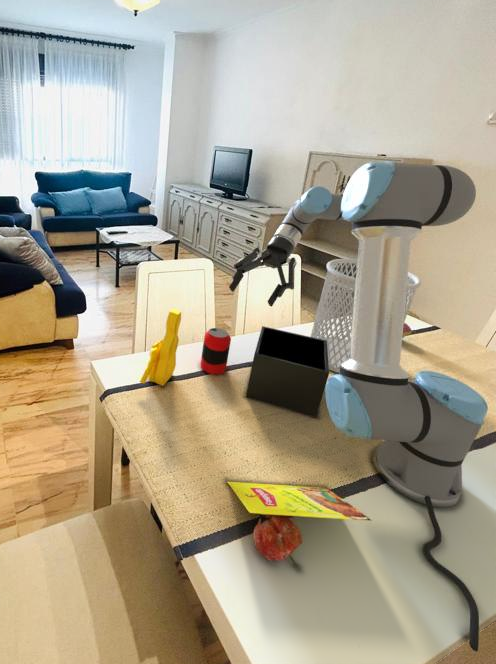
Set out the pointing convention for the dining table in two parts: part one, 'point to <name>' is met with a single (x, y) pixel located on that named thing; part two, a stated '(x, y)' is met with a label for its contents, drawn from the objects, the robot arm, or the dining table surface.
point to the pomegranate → (276, 537)
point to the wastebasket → (344, 310)
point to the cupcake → (406, 330)
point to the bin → (289, 371)
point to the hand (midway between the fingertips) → (249, 296)
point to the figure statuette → (164, 353)
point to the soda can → (215, 351)
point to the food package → (294, 501)
